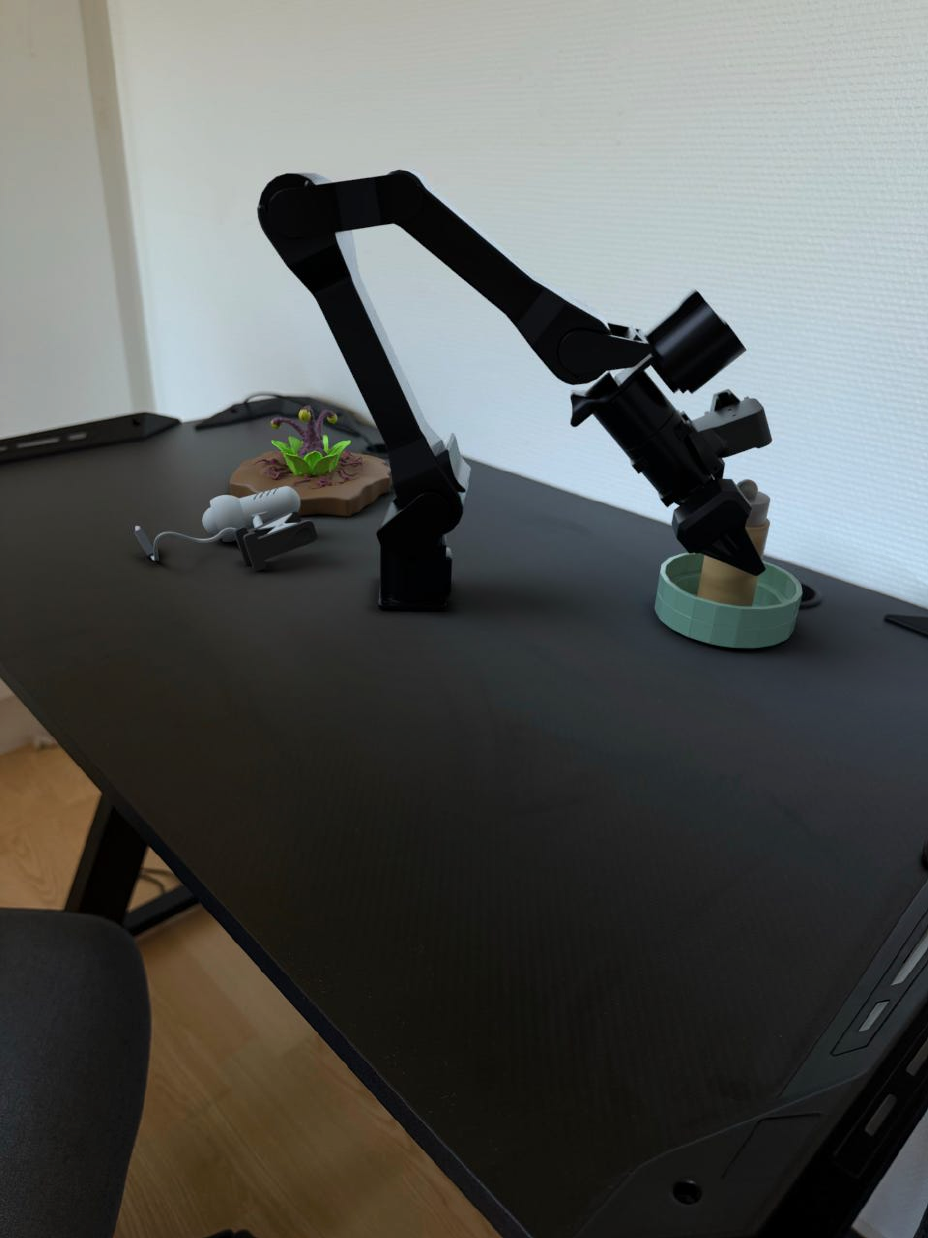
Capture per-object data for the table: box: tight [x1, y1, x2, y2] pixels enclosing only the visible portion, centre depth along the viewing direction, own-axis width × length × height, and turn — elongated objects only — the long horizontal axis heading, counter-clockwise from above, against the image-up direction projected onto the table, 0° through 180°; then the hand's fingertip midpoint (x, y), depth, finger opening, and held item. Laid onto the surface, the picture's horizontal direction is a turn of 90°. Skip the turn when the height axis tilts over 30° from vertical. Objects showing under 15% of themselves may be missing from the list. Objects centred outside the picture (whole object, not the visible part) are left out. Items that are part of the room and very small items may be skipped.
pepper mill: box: [697, 478, 771, 607], centre depth 83 cm, size 5×5×14 cm
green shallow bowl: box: [654, 552, 803, 649], centre depth 86 cm, size 13×13×4 cm
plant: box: [229, 404, 393, 518], centre depth 112 cm, size 20×20×11 cm
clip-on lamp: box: [133, 486, 318, 572], centre depth 95 cm, size 12×6×18 cm
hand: (750, 553), depth 83 cm, fingers open, 9 cm apart
